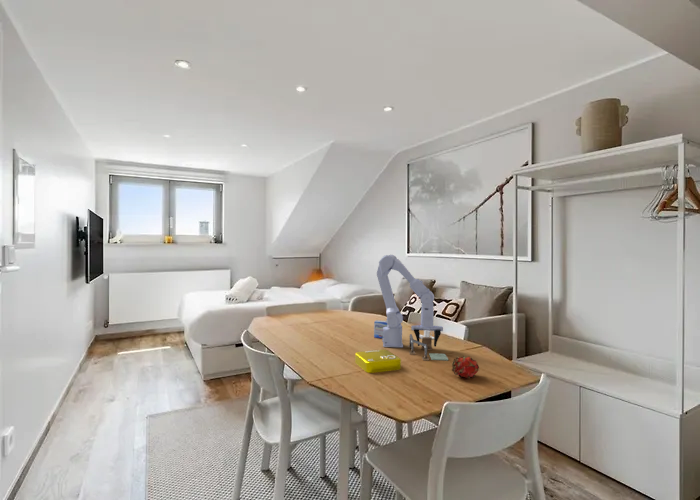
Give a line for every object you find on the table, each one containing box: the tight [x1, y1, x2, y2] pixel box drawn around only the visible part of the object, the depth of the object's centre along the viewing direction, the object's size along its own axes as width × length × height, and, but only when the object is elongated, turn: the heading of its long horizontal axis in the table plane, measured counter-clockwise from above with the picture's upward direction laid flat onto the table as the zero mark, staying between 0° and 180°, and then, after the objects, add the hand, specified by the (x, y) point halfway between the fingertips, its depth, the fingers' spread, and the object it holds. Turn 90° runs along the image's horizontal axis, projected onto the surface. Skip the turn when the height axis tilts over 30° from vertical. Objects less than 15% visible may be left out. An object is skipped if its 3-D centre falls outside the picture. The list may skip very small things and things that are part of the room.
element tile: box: [354, 349, 402, 374], centre depth 151 cm, size 15×15×5 cm
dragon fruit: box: [451, 355, 480, 379], centre depth 139 cm, size 8×8×12 cm
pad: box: [428, 352, 449, 361], centre depth 162 cm, size 7×8×1 cm
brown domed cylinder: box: [421, 337, 433, 351], centre depth 176 cm, size 5×5×5 cm
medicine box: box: [373, 319, 387, 339], centre depth 196 cm, size 8×4×9 cm, turn 73°
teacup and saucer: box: [419, 330, 434, 340], centre depth 197 cm, size 9×8×4 cm
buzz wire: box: [407, 333, 430, 362], centre depth 168 cm, size 7×20×6 cm, turn 175°
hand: (426, 345), depth 176 cm, fingers open, 7 cm apart
